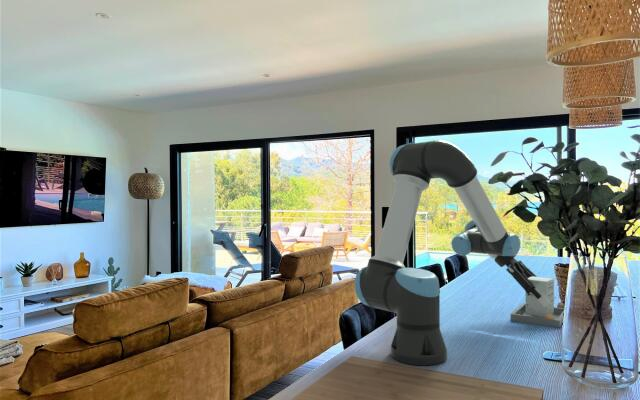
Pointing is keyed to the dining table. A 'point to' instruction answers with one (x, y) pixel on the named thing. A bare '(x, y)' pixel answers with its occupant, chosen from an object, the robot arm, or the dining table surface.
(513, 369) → the dining table surface
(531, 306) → the supplement box
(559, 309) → the tray
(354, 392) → the dining table surface
